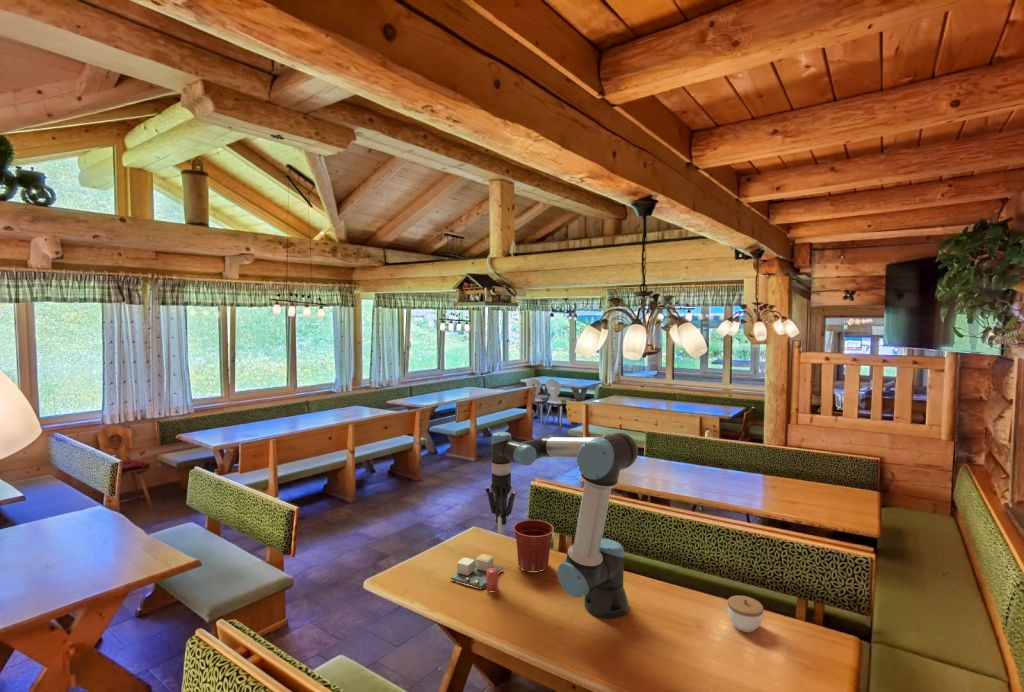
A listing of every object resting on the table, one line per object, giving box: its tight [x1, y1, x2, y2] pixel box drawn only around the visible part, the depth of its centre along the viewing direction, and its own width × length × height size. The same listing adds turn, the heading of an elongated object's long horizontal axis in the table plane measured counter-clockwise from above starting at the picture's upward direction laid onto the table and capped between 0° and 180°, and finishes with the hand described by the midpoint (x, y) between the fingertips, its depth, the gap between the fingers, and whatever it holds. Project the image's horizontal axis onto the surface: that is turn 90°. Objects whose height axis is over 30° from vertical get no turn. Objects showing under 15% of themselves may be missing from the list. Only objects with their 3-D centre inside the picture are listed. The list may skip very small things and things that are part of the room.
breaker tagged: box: [475, 553, 494, 572], centre depth 206 cm, size 5×5×4 cm
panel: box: [450, 559, 504, 589], centre depth 203 cm, size 14×16×2 cm
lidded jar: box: [727, 595, 764, 633], centre depth 170 cm, size 11×11×9 cm
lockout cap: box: [486, 568, 499, 592], centre depth 193 cm, size 4×4×7 cm
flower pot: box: [512, 519, 555, 572], centre depth 211 cm, size 16×16×16 cm
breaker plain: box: [456, 556, 476, 575], centre depth 203 cm, size 5×5×4 cm
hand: (501, 531), depth 202 cm, fingers closed
